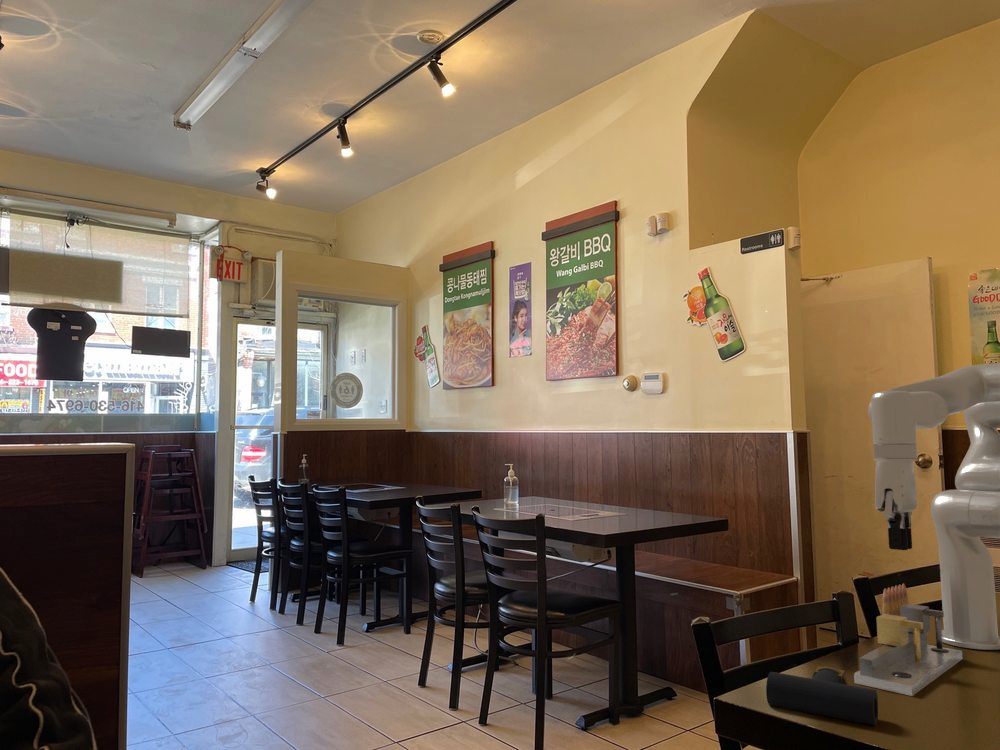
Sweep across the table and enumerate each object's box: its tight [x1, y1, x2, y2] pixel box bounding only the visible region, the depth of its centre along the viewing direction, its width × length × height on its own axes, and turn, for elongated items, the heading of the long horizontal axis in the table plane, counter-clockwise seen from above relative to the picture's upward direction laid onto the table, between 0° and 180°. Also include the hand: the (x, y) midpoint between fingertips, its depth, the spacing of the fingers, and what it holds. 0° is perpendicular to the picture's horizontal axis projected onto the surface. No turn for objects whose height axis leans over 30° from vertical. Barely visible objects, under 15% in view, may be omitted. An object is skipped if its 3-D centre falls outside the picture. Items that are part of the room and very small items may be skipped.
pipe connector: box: [765, 665, 879, 727], centre depth 111 cm, size 12×5×15 cm
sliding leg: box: [876, 614, 923, 663], centre depth 130 cm, size 4×7×7 cm, turn 44°
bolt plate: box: [853, 632, 964, 697], centre depth 130 cm, size 30×9×4 cm, turn 134°
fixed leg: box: [900, 603, 944, 649], centre depth 139 cm, size 4×7×7 cm, turn 44°
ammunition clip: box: [881, 582, 910, 646], centre depth 147 cm, size 11×2×12 cm, turn 129°
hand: (900, 548), depth 137 cm, fingers closed
